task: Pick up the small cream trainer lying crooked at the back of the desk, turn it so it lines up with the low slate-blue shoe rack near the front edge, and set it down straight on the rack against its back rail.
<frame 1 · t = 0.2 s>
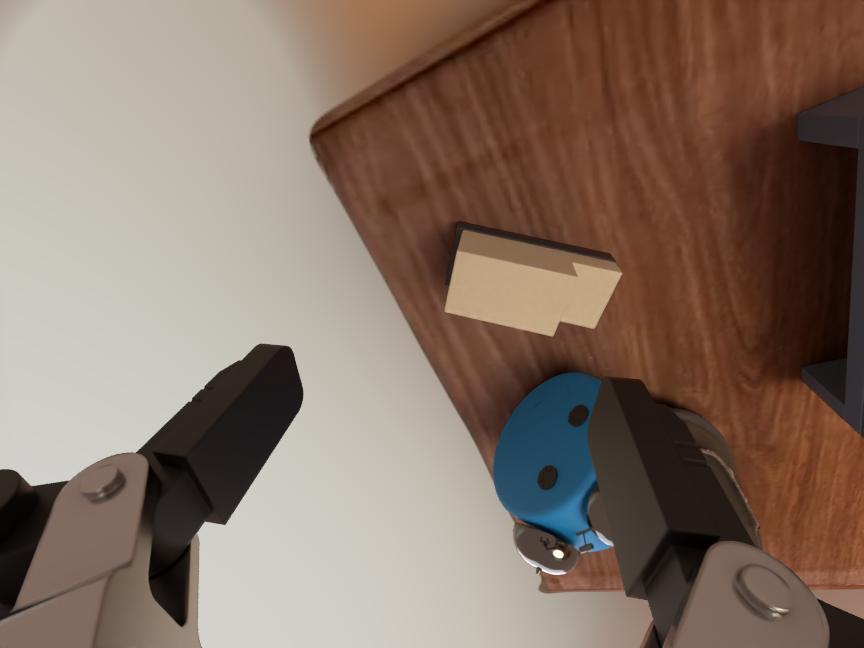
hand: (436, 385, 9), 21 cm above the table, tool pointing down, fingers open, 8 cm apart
loafer: (682, 478, 39), on the table
alarm clock: (557, 397, 36), on the table
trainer: (524, 266, 29), on the table
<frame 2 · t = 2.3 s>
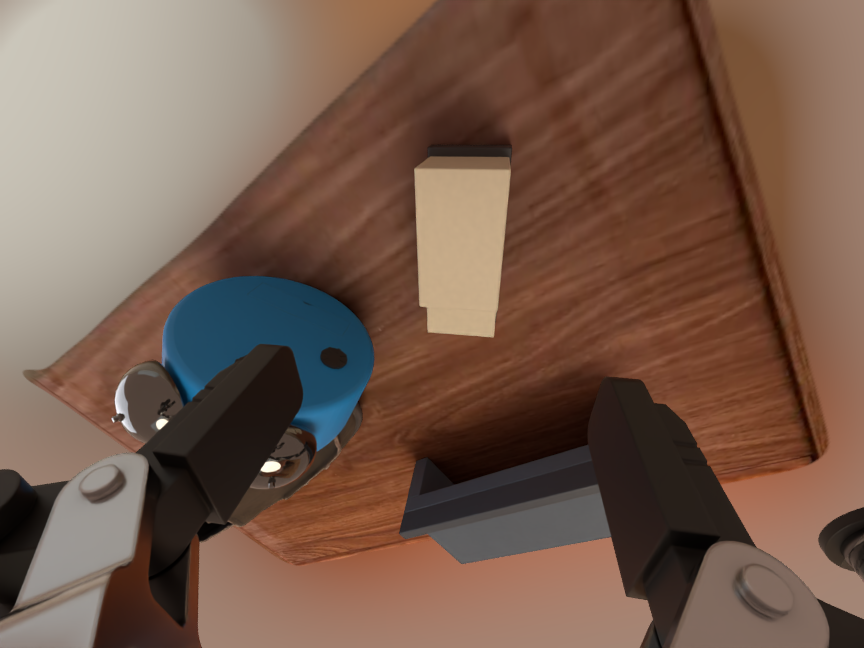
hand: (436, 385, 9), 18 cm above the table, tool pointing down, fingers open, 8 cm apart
shoe rack: (528, 460, 37), on the table
loafer: (284, 432, 41), on the table
alarm clock: (317, 313, 32), on the table
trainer: (467, 238, 26), on the table
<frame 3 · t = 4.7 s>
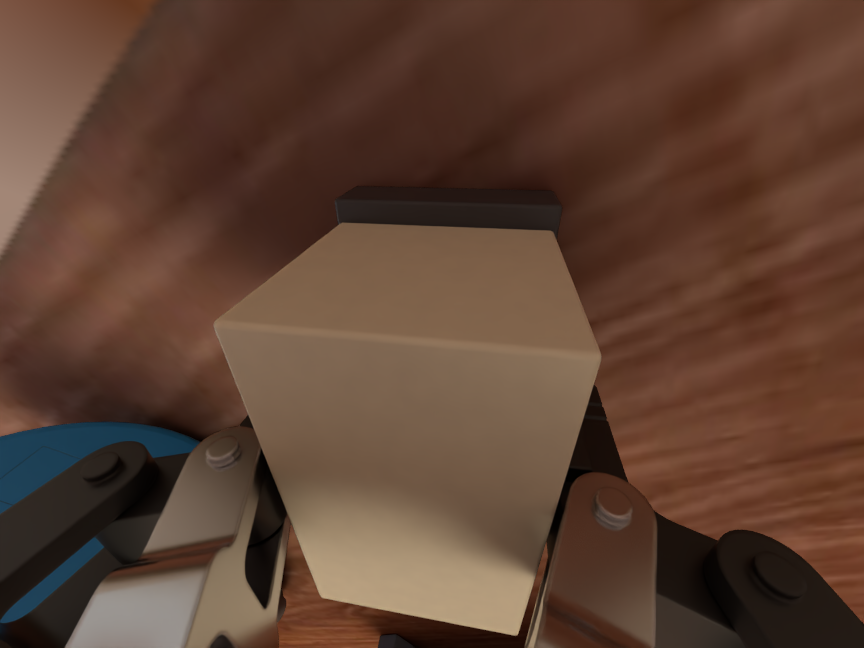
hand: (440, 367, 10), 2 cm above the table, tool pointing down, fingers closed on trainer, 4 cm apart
alarm clock: (192, 458, 18), on the table
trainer: (447, 373, 12), on the table, touching gripper
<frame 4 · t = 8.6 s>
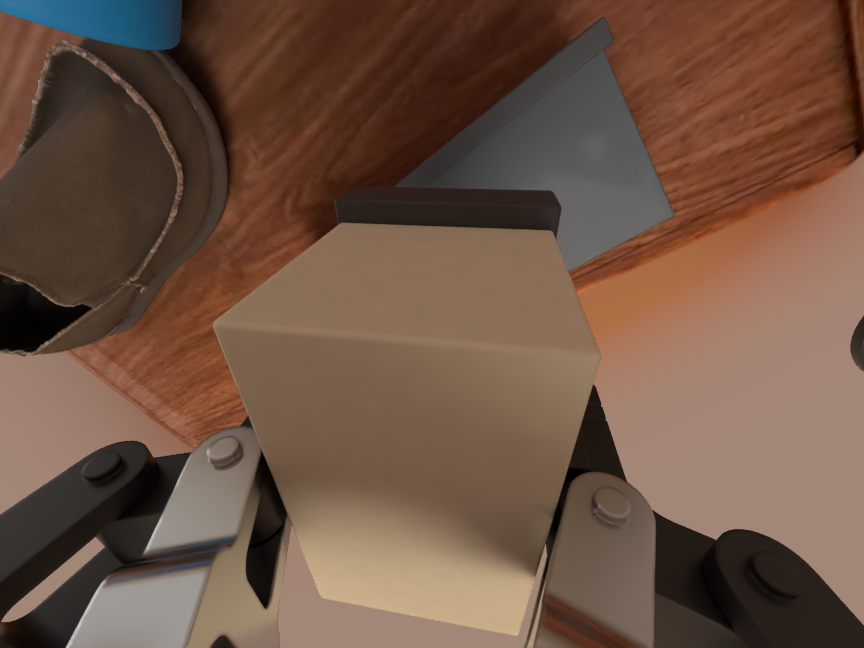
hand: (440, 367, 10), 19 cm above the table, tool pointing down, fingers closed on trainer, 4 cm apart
shoe rack: (461, 221, 27), on the table
loafer: (148, 220, 31), on the table
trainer: (447, 373, 12), point 18 cm above the table, touching gripper
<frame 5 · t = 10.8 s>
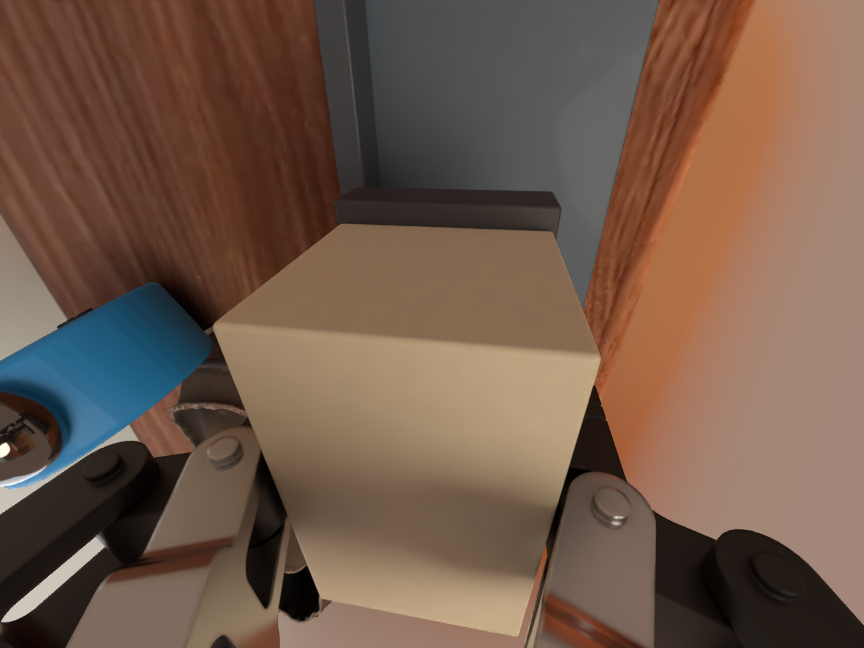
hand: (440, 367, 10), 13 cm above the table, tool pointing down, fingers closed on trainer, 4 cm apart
shoe rack: (479, 251, 22), on the table
loafer: (311, 456, 36), on the table
alarm clock: (171, 317, 29), on the table
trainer: (447, 373, 12), point 12 cm above the table, touching gripper
when the fingers open (8 cm above the table, at t = 12.6 s): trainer stays where it is, resting on shoe rack.
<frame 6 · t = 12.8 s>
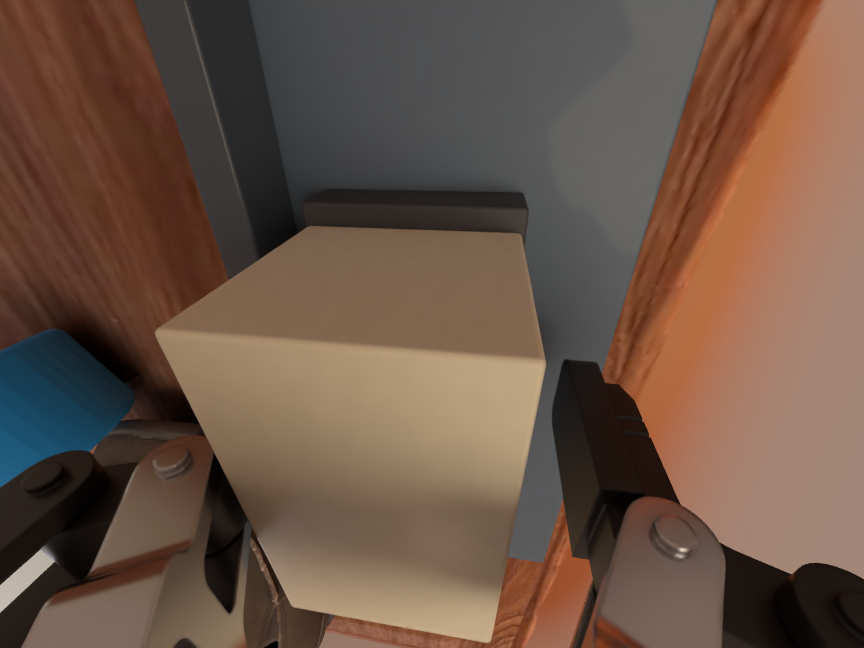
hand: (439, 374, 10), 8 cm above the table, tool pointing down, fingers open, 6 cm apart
shoe rack: (456, 295, 17), on the table
loafer: (271, 514, 31), on the table
alarm clock: (89, 364, 24), on the table
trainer: (426, 376, 12), point 6 cm above the table, touching shoe rack
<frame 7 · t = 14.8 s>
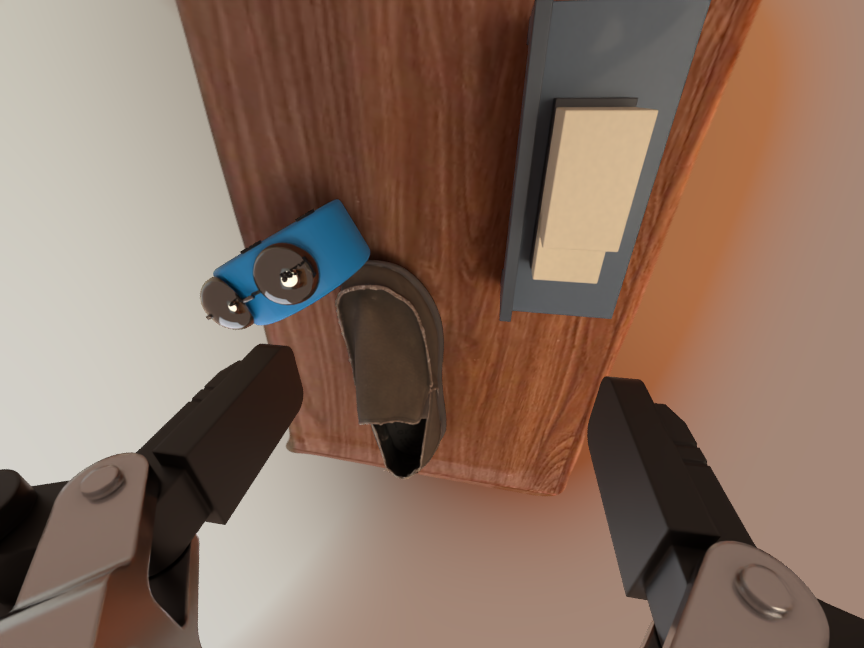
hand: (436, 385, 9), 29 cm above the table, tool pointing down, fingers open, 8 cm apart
shoe rack: (569, 175, 32), on the table
loafer: (410, 355, 47), on the table
alarm clock: (326, 235, 40), on the table
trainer: (573, 190, 27), point 6 cm above the table, touching shoe rack
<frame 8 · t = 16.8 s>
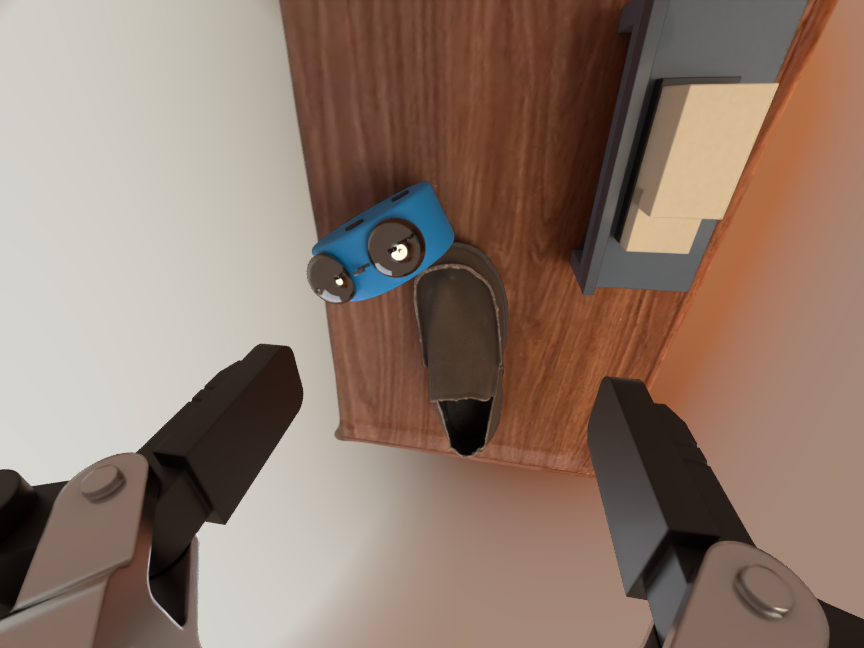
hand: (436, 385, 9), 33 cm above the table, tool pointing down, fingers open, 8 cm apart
shoe rack: (646, 157, 34), on the table
loafer: (471, 338, 48), on the table
alarm clock: (400, 220, 41), on the table
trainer: (665, 167, 29), point 6 cm above the table, touching shoe rack
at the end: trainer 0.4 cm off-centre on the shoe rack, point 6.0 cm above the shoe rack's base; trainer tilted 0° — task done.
